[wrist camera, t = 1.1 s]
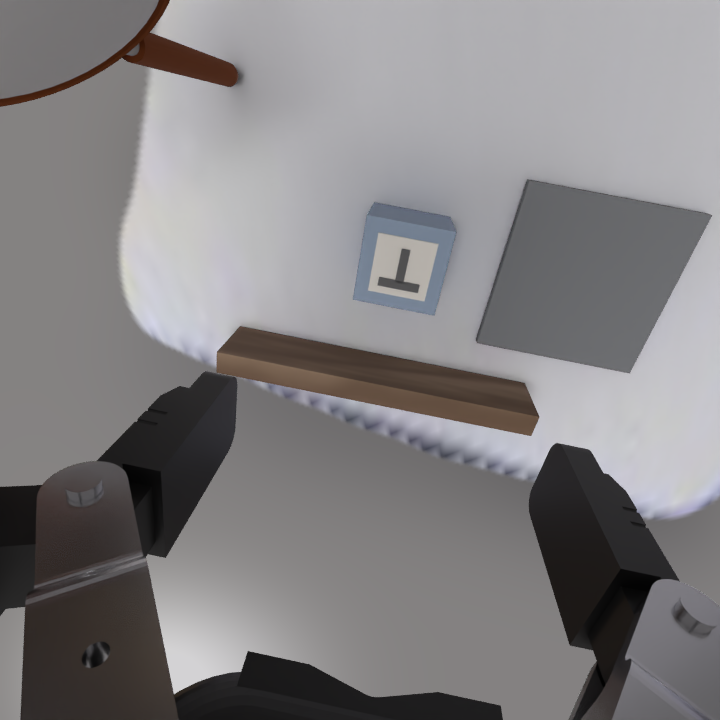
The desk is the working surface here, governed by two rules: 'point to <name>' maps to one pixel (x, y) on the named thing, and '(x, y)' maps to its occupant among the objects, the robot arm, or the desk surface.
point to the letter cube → (404, 258)
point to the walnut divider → (378, 380)
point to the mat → (587, 275)
